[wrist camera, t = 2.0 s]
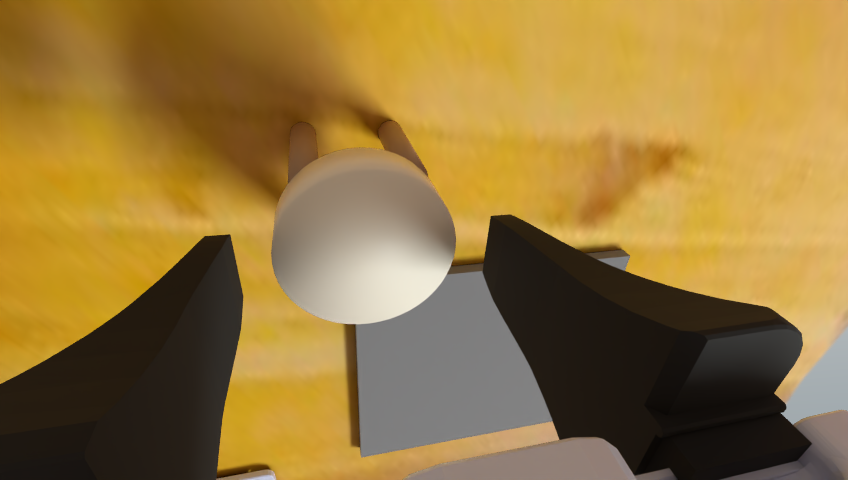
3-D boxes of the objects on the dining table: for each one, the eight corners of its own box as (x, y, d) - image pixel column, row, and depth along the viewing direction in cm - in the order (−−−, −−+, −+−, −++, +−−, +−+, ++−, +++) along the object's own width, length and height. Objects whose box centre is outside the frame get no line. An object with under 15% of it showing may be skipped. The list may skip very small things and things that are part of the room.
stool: (287, 235, 18) (283, 333, 13) (270, 107, 15) (258, 174, 11) (411, 225, 19) (448, 313, 15) (416, 105, 17) (464, 165, 12)
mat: (360, 448, 27) (361, 457, 26) (353, 275, 20) (354, 283, 19) (567, 409, 30) (571, 417, 29) (623, 249, 23) (630, 256, 23)
